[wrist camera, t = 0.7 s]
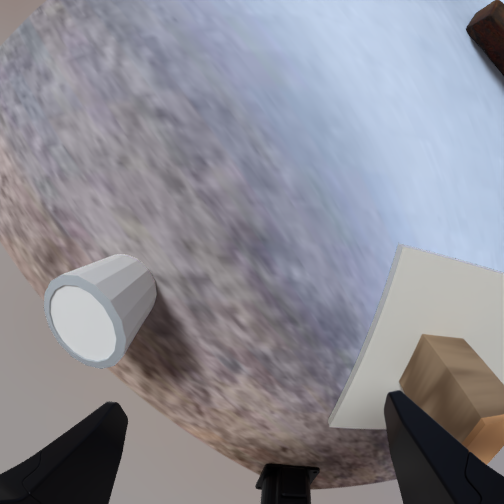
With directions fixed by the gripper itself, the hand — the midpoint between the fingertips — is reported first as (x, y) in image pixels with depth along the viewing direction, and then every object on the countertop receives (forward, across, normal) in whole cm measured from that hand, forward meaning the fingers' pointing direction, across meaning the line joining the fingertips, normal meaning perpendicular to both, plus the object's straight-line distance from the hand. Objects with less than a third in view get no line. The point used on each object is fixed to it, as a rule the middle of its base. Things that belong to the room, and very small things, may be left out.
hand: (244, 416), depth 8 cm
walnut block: (+12, -14, +11) cm, 21 cm away
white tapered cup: (+14, +12, +1) cm, 18 cm away
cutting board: (+13, -18, +13) cm, 26 cm away
